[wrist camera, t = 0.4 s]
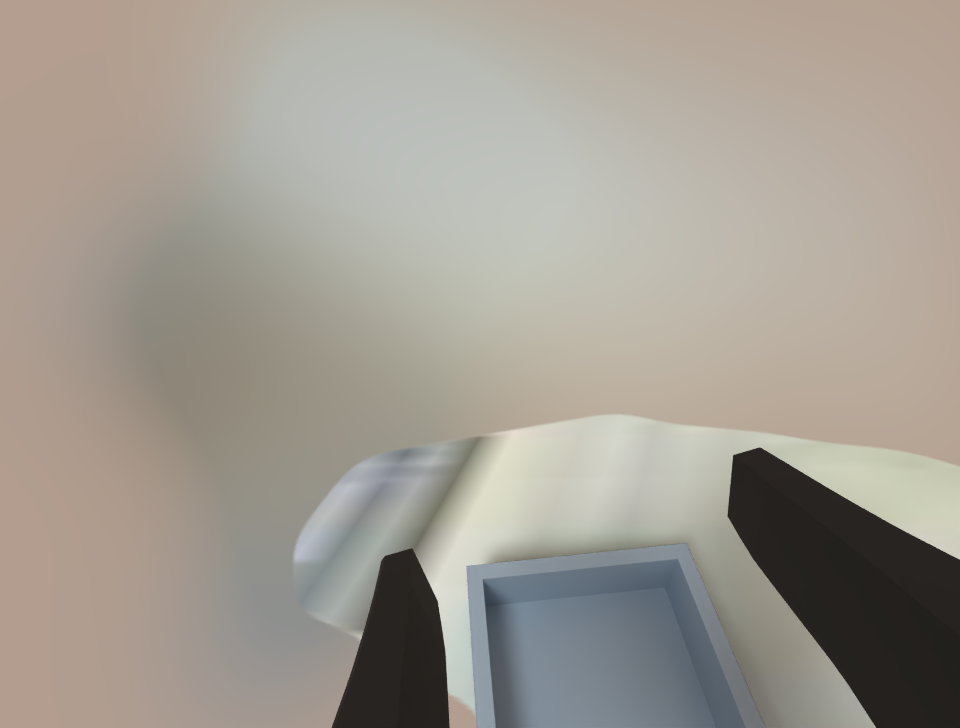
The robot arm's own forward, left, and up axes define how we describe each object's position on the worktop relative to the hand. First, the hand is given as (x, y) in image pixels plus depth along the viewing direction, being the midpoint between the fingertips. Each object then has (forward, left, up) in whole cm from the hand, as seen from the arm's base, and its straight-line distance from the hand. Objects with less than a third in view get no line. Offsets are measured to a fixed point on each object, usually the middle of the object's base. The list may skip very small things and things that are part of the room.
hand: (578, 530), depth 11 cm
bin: (+1, -3, -19) cm, 20 cm away
